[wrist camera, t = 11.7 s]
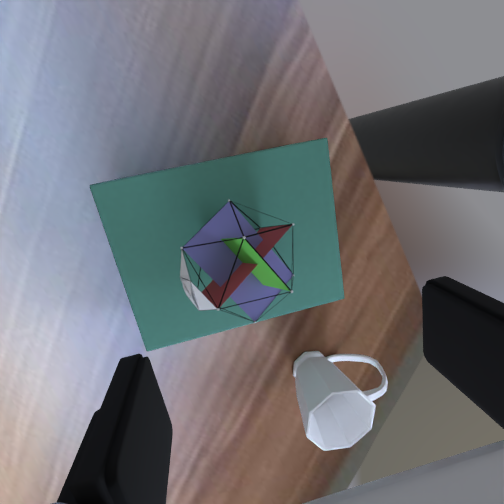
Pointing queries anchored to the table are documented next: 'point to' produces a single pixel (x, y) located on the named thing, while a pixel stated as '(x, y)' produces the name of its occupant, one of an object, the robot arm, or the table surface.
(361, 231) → the table surface
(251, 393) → the table surface
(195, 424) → the table surface
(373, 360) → the cup
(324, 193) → the lunchbox lid
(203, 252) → the geometric puzzle
